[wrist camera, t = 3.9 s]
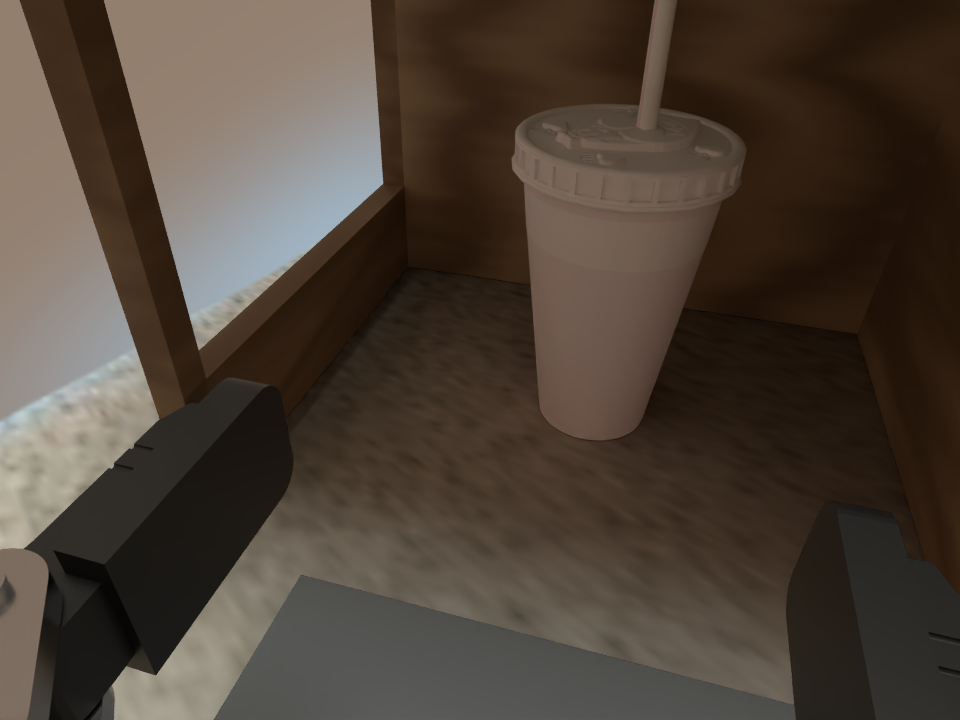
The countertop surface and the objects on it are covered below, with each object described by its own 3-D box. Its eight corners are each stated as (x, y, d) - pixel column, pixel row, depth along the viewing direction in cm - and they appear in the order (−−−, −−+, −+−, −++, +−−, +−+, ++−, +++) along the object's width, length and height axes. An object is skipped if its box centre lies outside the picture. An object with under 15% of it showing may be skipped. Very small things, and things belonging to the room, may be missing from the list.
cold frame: (889, 321, 29) (1166, -328, 18) (1045, 731, 15) (2862, -1113, 4) (391, 248, 34) (354, -296, 23) (161, 507, 20) (-240, -580, 9)
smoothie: (720, 440, 23) (861, -38, 15) (550, 490, 21) (605, -30, 13) (620, 341, 28) (685, -61, 20) (474, 374, 26) (479, -58, 18)
